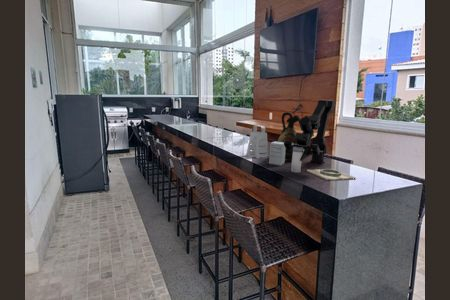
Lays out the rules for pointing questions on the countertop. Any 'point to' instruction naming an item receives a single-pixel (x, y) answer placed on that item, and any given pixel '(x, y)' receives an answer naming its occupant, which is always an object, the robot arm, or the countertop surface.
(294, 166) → the cylinder
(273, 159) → the supplement box
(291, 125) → the ceramic jug
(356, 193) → the countertop surface
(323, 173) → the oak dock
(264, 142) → the grater
